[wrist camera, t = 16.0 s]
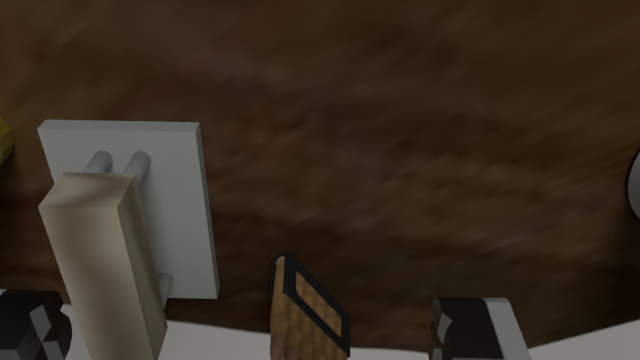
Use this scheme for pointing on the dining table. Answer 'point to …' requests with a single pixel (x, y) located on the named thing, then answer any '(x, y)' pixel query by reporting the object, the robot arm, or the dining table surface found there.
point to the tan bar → (106, 263)
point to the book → (5, 140)
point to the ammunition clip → (304, 316)
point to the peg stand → (150, 190)
